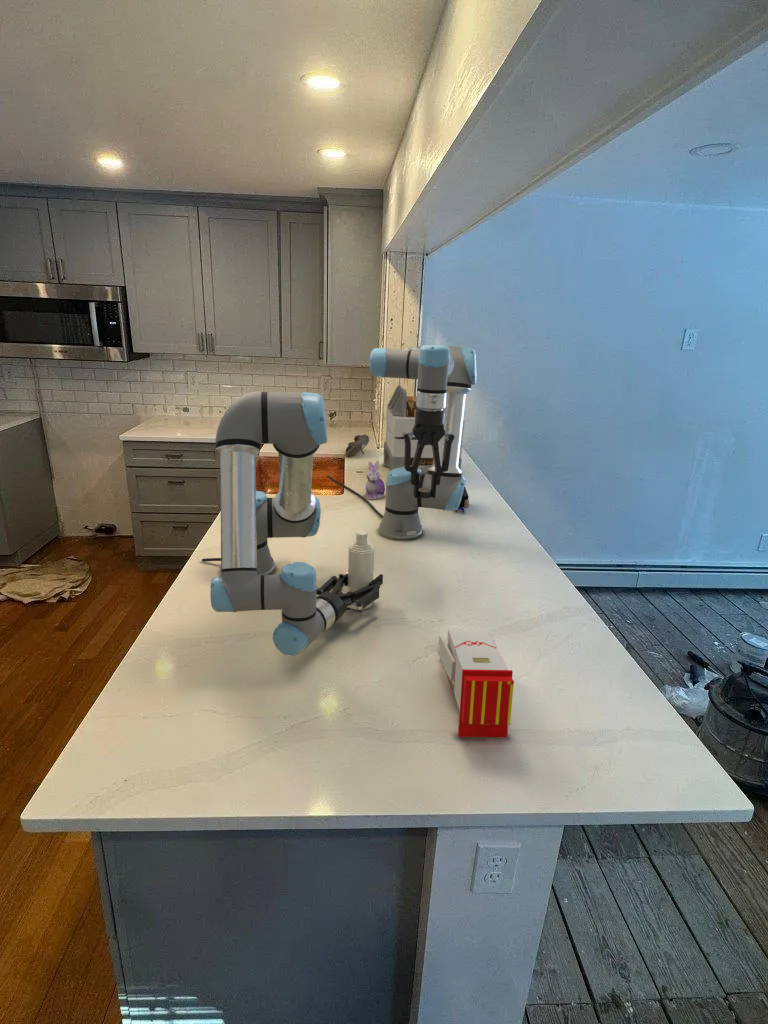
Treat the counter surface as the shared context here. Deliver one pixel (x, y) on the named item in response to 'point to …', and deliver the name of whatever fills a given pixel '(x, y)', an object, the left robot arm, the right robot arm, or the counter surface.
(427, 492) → the cap
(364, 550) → the bottle
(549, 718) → the counter surface
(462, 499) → the figurine character
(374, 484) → the figurine
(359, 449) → the fossil
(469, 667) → the toy
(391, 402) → the transformer
